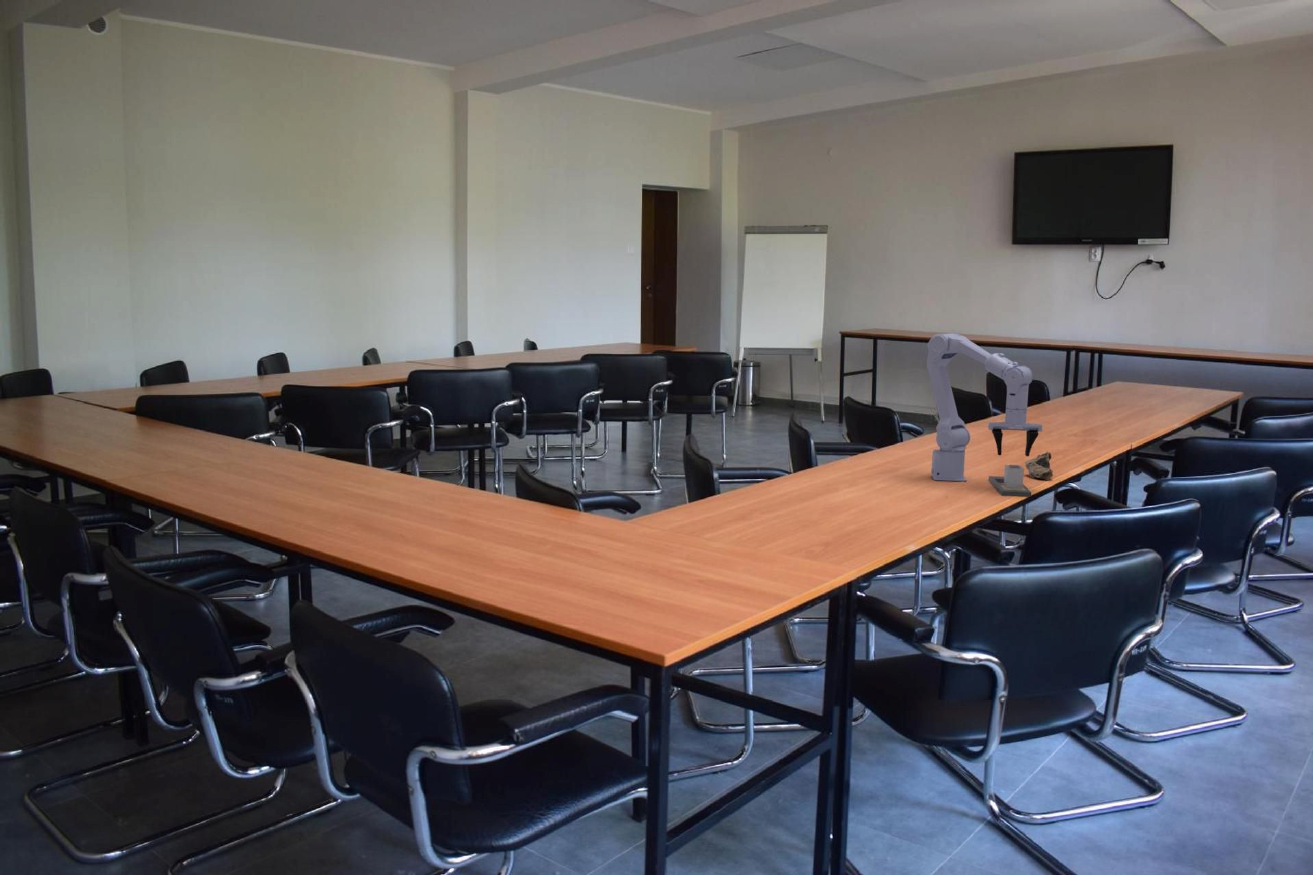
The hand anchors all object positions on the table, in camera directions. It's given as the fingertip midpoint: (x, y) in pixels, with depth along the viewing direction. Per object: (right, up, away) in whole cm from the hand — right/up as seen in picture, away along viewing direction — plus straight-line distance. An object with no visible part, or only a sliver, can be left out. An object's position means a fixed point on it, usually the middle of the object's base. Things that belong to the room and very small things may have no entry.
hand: (1013, 455), depth 299 cm
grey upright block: (-1, -9, -3) cm, 10 cm away
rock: (+14, -7, +19) cm, 25 cm away
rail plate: (0, -10, +3) cm, 10 cm away
